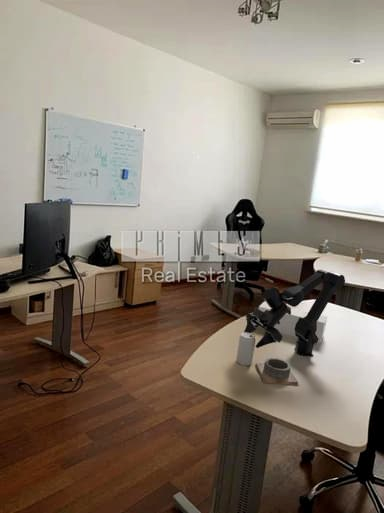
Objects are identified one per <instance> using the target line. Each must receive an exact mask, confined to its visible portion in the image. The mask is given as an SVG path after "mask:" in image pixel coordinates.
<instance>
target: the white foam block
mask: <svg viewBox="0 0 384 513" xmlns="http://www.w3.org/2000/svg"><path fill="white" fill-rule="evenodd" d="M290 308H291V315H289V314H288V313H286V314H285V315H284V316H283V317H282V318H281V320H280V321H279V322H280V324H276V325H275V326H274V328H276V329H277V330H278V331H279V332H280V333H281V334H284V335H288V336H292V337H295V338H297V337H296V334H295V329H294V328H295V326H296V325H295V324H296V323H297V322H298V319H299V318H300V317H301V318H304V317H306V316H307V314H308V312H309V311H306V310H303V309H302V310H301V309H297V308H295V307H290ZM258 309H259V310H261V311H263V312H264V311H265V310H268V311H269V310H270V309H271V307H269V305H268V304H267V303H266V301H265V300H264V301H263V302H262V303H261V304H260V305H259V306H258ZM257 319H258V318H257ZM327 319H328V316H326V315H322V314H321V316H320V317H319V319H318V321H317V330H316V332H315V334H316V336H317V337H318V342H317V343H316V344H320V345H321V344H322V341H323V339H324V335H325V330H326V325H327ZM258 320H259V319H258ZM259 321H260V320H259ZM261 326H262V325H261Z"/></svg>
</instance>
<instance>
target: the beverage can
mask: <svg viewBox="0 0 384 513" xmlns="http://www.w3.org/2000/svg"><path fill="white" fill-rule="evenodd" d="M238 338H239V339H238V346H237V351H236V357H235V358H236V362H237V363H238V364H239V365H241V366H250V365H251V364H252V363H253V360H254V359H253V358H254V352H255V348H256V335H255V334H253V333H247V332H244V331H243V332H241V333H240V336H239V337H238Z"/></svg>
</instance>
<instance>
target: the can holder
mask: <svg viewBox="0 0 384 513" xmlns="http://www.w3.org/2000/svg"><path fill="white" fill-rule="evenodd" d="M255 367H256V368H257V371H258V373H259V375H260V377H261V380H262V382H263V383H265V384H277V385H279V384H281V385H282V384H283V385H297V386H298V385H299V380H298V379H297V378H296V376H295V375H294V373H293V372H292V370H291V367H292V365H290V363H289V362H287V360H284V359H283V358H282V359H281V358H279V357H269V358H266V359H265V360H264V362H255Z"/></svg>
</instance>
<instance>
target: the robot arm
mask: <svg viewBox="0 0 384 513" xmlns="http://www.w3.org/2000/svg"><path fill="white" fill-rule="evenodd" d="M345 282H346V278H345V276H344V275H342V274H341V273H338V272H335V271H332V270H331V271H326V270H323V269H317V270H316V271H315V272H314V273H313V274H311V276H309V277H307V278H306V279H305V280H303V281H302V282H300V283H298V284H297V285H295V286H290V287H287V288H286V289H284V290H283V291H280V290H279V288H278V287H275V286H273V287H272V288H267V289H266V290H264V292H263V293H262V298H263V300H264V301H265V302H266V303H267V304H268V305H269V307H271V309H270V310H269V311H268V310H265V311H264V312H263V311H261V310H259V307H255V308H254V309H253V312H248V313H247V314H246V315H245V320H246V327H245V328H244V331H243V333H244V332H247V333H251V334H253V332H255V331H256V330H257V328H261V329H262V330H264V335H263V336H262V338H260V340H259V341H258V342H257V344H255V348H257V349H259V348H262V347H264V346H267V345H269V344H273V343H274V344H276V343H279V344H280V343H281V342H282V341H283V335H282V333H280V332H279V331H278V330H277V329H276V328H274V326H275V325H276V324H280V322H279V321H280V320H281V318H282V317H283V316H284V315H285V314H286V313H288V314H289V315H291V308H296V307H298V306H299V305H300V304H301V303H302V302H303V301H304V298H305V296H306V295H308V294H309V293H310V292H311V291H313V290H315V288H317V287H318V286H319V285H321V284H322V289H321V290H320V292H319V294H318V295H317V297H316V298H315V301H314V302H313V303H312V306H311V307H310V309H309V311H307V312H308V314H307V316H306V317H304V318H301V317H300V318H299V319H298V322H297V323H296V324H295V325H296V326H295V328H294V329H295V334H296V337H295V338H297V340H296V341H295V347H294V350H295V351H296V353H297V354H298V355H299V356H303V357H304V356H306V357H314V354H313V350H314V345H315V344H318V343H317V342H318V337H317V336H316V334H315V332H316V330H317V321H318V319H319V317H320V316H321V315H322V314H323V312H324V310H325V309H326V307H327V305H328V303H329V301H330V300H331V299H332V297H333V295H334V294H335V293H337V292H339V291H340V290H341V289H342V287H343V286H344V285H345ZM257 318H258V319H259V320H260V321H259V320H258V319H257ZM261 325H262V326H261Z"/></svg>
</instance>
